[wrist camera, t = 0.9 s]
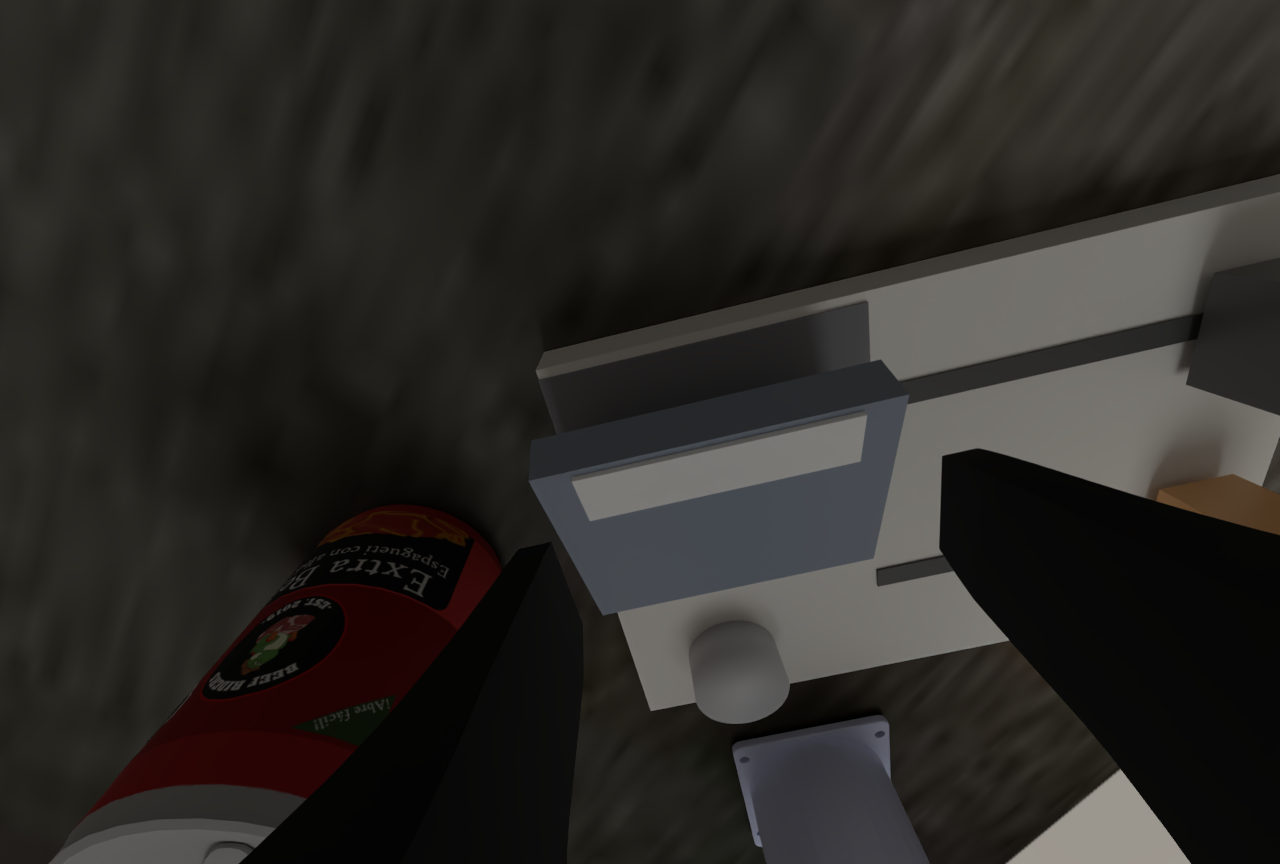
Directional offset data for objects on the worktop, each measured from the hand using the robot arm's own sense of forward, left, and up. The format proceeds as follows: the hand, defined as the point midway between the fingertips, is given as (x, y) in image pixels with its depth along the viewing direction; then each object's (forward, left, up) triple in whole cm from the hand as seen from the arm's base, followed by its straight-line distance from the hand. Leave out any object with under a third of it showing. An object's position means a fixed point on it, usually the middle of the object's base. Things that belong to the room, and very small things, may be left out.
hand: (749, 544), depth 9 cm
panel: (-6, -7, -9) cm, 13 cm away
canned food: (-6, +13, -10) cm, 17 cm away
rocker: (-2, 0, -5) cm, 6 cm away
